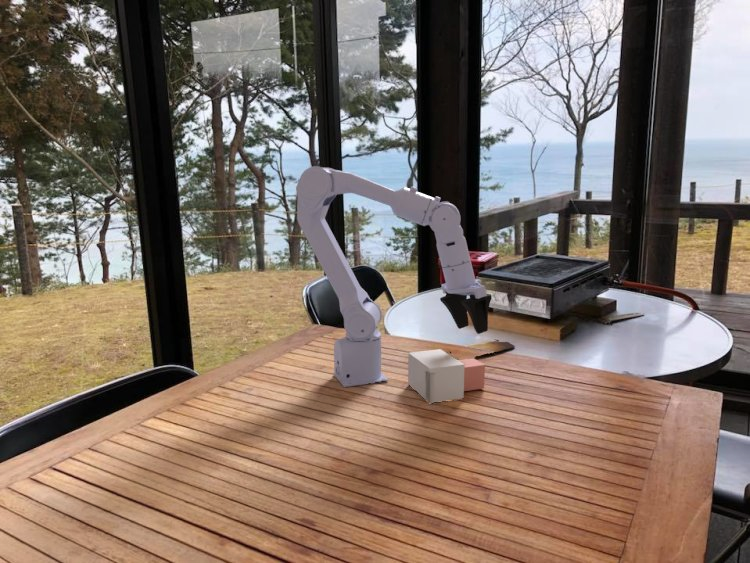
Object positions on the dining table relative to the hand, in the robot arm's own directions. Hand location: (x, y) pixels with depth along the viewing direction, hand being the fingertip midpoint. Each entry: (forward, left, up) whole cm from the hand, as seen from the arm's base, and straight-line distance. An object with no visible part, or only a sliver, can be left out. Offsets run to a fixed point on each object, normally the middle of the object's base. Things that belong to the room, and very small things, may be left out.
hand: (472, 329), depth 109 cm
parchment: (+11, +18, -12) cm, 24 cm away
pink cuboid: (-5, -2, -11) cm, 12 cm away
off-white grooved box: (-9, -2, -11) cm, 14 cm away
